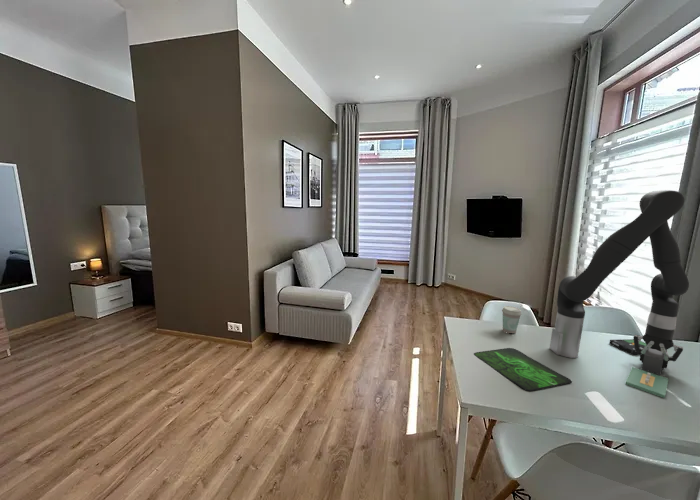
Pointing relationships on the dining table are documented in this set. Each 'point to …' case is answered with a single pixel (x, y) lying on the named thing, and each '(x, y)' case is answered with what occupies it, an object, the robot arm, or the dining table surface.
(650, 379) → the green flat rectangular block
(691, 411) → the dining table surface
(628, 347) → the disk drive
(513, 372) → the mouse mat
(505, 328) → the coffee cup
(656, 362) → the block
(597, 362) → the dining table surface
